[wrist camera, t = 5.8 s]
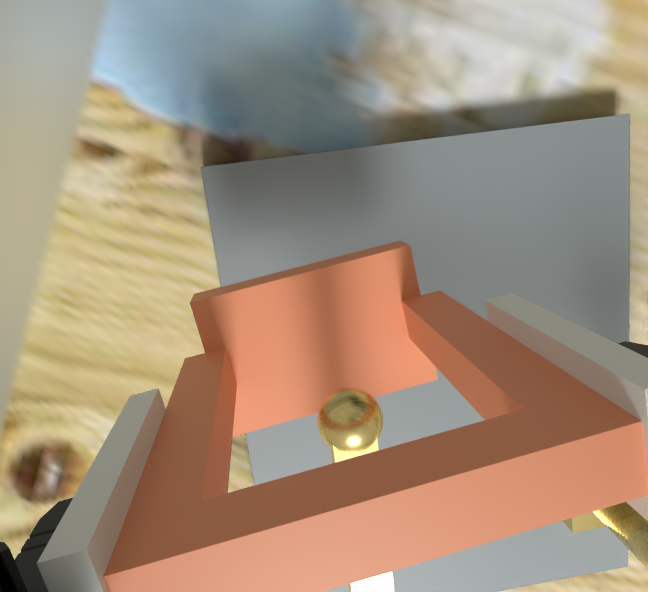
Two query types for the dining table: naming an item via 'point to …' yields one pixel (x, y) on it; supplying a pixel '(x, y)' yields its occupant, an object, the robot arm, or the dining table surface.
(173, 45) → the dining table surface
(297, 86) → the dining table surface
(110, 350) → the dining table surface
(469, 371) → the orange rectangular frame
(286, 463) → the board
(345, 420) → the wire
